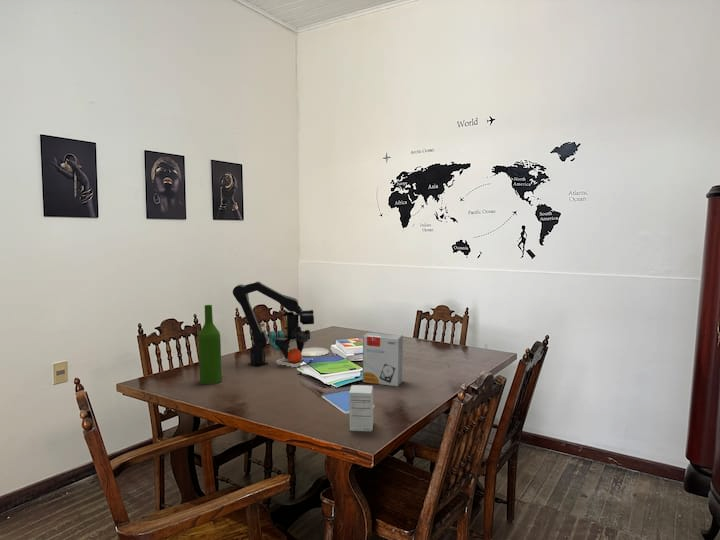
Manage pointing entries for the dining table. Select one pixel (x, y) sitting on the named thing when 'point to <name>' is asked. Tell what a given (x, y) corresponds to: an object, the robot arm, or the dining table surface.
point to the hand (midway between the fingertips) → (293, 356)
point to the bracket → (273, 337)
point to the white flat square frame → (287, 363)
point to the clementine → (294, 355)
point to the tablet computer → (339, 401)
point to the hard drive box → (382, 358)
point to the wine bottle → (209, 350)
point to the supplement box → (361, 408)
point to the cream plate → (314, 351)
